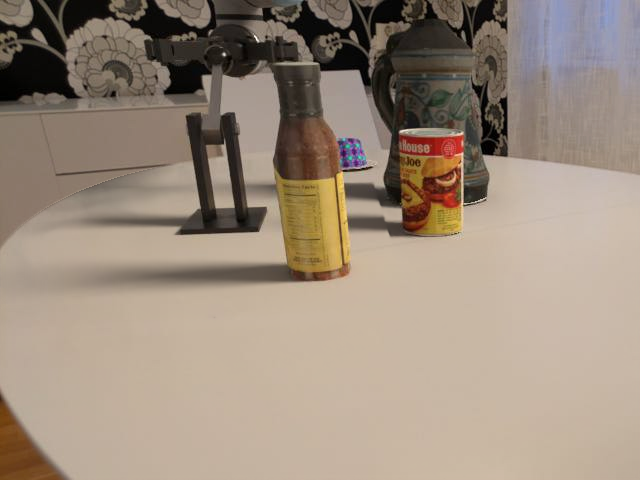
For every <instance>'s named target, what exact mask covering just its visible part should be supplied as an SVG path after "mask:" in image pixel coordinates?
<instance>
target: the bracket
mask: <svg viewBox="0 0 640 480" xmlns="http://www.w3.org/2000/svg"><path fill="white" fill-rule="evenodd" d="M221 115H222V123H223V130H224V137H225V139H224V145H225V150H226V158H227V164H228V171H229V178H230V184H231V192H232V199H233V205H234V207H216V201H215V196H214V195H215V194H214V188H213V182H212V176H211V170H210V168H211V167H210V163H209V155H208V150H207V145H205V142H204V138H203V135H202V131H201V123H202V112H200V111H199V112H198V111H196V112H191V113H189V114H188V113H187V114H186V115H185V121H186V123H185V133H186V135H187V137H188V139H189V140H188V141H189V145H190V150H191V151H190V152H191V157H192V165H193V170H194V176H195V183H196V189H197V194H198V202H199V206H200V208H197V209H196V210H195V212H193V214H192V215H191V216H190V217H189V218H188V220H187V221H186V222H185V223H184V224H183V226H182V227H181V228H180V230H179V233H180V236H190V235H193V236H194V235H219V234H243V233H244V234H245V233H246V234H247V233H259V232H260V230H261V229H262V225H263V223H264V221H265V218H266V216H267V214H268V207H267V206H248V198H247V192H246V184H245V176H244V169H243V161H242V155H241V154H242V153H241V146H240V139H239V136H241V129H240V124H239V123H238V122H237V118H236V112H234V111H228V112H224V113H223V114H221Z"/></svg>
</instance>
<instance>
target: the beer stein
mask: <svg viewBox="0 0 640 480" xmlns="http://www.w3.org/2000/svg"><path fill="white" fill-rule="evenodd" d="M476 57H477V55H476V53H474V51H473V50H472V48H471V46H469V45H468V43H466V42H465V41H463V40H462V39H461V38H460V37H459V36H458V35H457V34H456V33H455V32H454V31H453V29H451V27H450V26H449V25H448V23H447V19H442V18H414V19H412V20H411V23H410V26H409V27H408V28H407V29H406V30H401V31H396V32H394V33H391V34H390V35H389V36H388V38H387V40H386V43H385V53H382V54H380V55H379V56H378V57H377V59H376V61H375V62H374V67H373V69H372V72H371V77H370V89H371V95H372V99H373V103H374V106H375V108H376V110H377V112H378V114H379V117H380V119H381V120H382V122H383V123H384V125H385V127H386V128H387V130H388V131H389V133H390V134H391V135H390V136H391V137H390V145H389V153H388V158H387V163H386V167H385V170H384V173H383V176H382V179H383V180H382V181H383V185H384V188H385V191H386V195H387V199H388V198H389V199H388V201H389V200H391V201H393V202H396V203H401V204H402V200H401V175H400V150H399V131H401V130H406V129H417V128H444V129H456V130H461V131H463V204H464V203H471V202H475V201H478V200H480V199H483V198H485V197H487V198H488V190H489V188H488V187H489V183H490V180H491V179H490V178H491V177H490V172H489V169H488V167H487V166H486V163H485V160H484V155H483V150H482V147H481V141H480V135H479V130H478V123H477V116H476V110H475V109H476V108H475V101H474V92H473V85H472V84H473V83H472V71H473V69H474V67H475V62H476V59H477V58H476ZM393 75H395V77H396V80H395V81H396V83H395V90H394V100H393V97H392V92H391V81H392V77H393ZM391 201H390V202H391ZM393 202H392V203H393ZM396 203H395V204H396Z"/></svg>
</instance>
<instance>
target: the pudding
mask: <svg viewBox="0 0 640 480" xmlns="http://www.w3.org/2000/svg"><path fill="white" fill-rule="evenodd" d="M336 139H337V142H338V145H339V151H340V163H341V169H356V168H365V167H361V166H364V165H366V164H367V161H373V162H375V163H376V164H375V165H377V164H378V162H377V161H375V160H372V159H367V158H366V155H365V151H364V148H363V144H362V141H361V140H360V139H358V138H356V137H355V138H353V137H351V138H350V137H338V138H337V137H336ZM375 165H371V166H366V167H367V168H369V167H373V166H375ZM354 167H355V168H354ZM365 169H366V168H365Z"/></svg>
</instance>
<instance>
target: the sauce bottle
mask: <svg viewBox="0 0 640 480" xmlns="http://www.w3.org/2000/svg"><path fill="white" fill-rule="evenodd" d="M272 73H273V74H272V76H273V80H274V82H275V84H276V87H277V97H278V104H279V109H278V110H279V124H278V130H277V136H276V142H275V148H274V154H273V158H272V165H273V172H274V181H275V187H276V193H277V202H278V208H279V209H278V210H279V215H280V223H281V229H282V230H281V231H282V237H283V244H284V252H285V258H286V264H287V266H288V270H289V275H290V276H291V277H292V278H293V279H296V280H299V281H306V282H307V281H308V282H326V281H331V280H332V281H333V280H337V279H341V278H344V277H347V276H348V275H349V274H350V273H351V270H352V267H351V262H350V261H351V259H352V252H351V242H350V233H349V224H348V212H347V202H346V192H345V181H344V172H343V171H342V169H341V163H340V151H339V145H338V142H337V137H336V135H335V133H334V131H333V129H332V128H331V126H330V125H329V124H328V123H327V121H326V120H325V119H324V107H323V102H322V94H321V87H320V86H321V85H320V82H321V79H322V73H321V66H320V63H318V62H313V61H298V62H292V61H285V62H275V63H272Z"/></svg>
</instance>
